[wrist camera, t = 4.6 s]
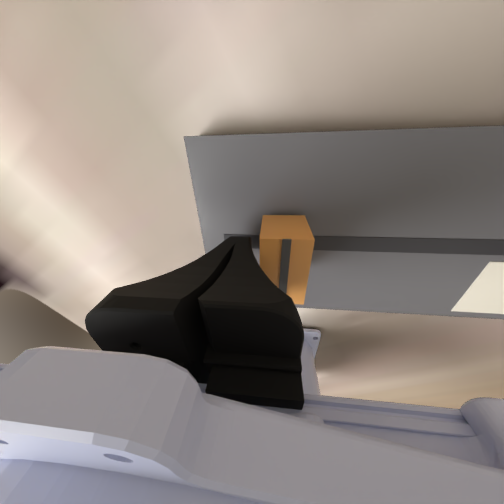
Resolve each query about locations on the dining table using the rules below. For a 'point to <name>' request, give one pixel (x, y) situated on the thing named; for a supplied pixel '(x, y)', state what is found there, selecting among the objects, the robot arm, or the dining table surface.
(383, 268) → the console
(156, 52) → the dining table surface
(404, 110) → the dining table surface
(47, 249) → the dining table surface
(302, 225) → the fader
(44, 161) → the dining table surface
